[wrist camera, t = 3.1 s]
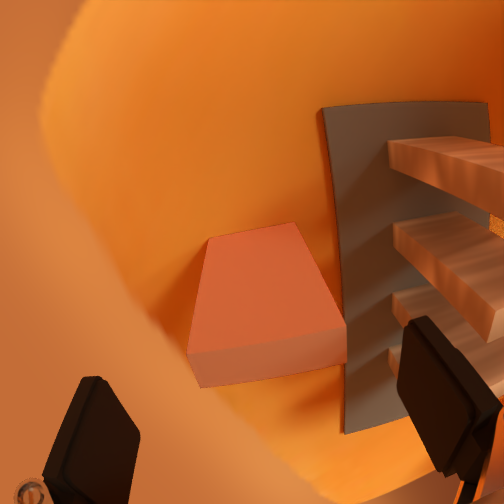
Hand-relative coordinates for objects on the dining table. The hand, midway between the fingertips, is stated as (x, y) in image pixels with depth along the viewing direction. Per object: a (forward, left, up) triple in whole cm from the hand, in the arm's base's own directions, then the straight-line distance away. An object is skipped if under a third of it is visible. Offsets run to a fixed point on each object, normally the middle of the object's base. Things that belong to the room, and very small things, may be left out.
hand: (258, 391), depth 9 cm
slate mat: (+7, +11, -11) cm, 17 cm away
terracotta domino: (0, 0, -11) cm, 11 cm away
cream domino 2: (+1, +11, -11) cm, 16 cm away
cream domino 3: (+6, +11, -11) cm, 17 cm away
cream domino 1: (-4, +11, -11) cm, 16 cm away
